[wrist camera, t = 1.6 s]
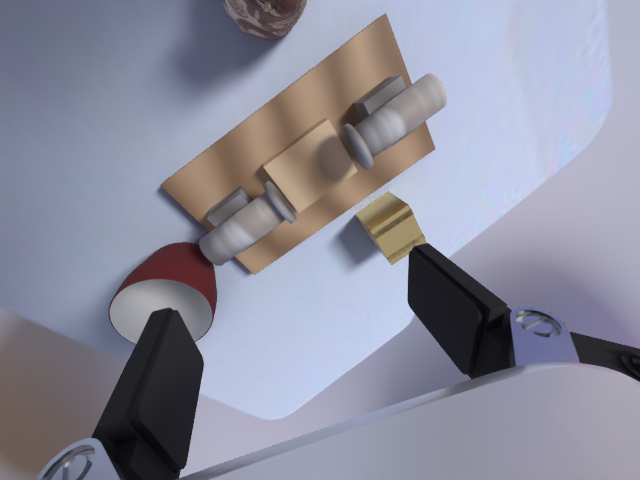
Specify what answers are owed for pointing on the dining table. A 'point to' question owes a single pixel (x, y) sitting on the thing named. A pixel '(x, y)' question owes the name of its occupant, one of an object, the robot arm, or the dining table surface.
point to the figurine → (265, 16)
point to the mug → (167, 291)
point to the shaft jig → (310, 152)
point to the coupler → (391, 227)
